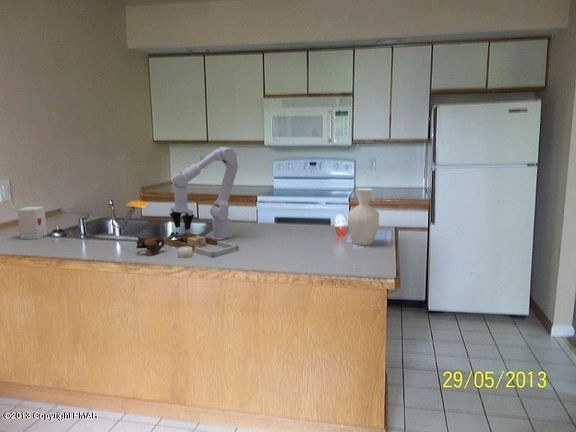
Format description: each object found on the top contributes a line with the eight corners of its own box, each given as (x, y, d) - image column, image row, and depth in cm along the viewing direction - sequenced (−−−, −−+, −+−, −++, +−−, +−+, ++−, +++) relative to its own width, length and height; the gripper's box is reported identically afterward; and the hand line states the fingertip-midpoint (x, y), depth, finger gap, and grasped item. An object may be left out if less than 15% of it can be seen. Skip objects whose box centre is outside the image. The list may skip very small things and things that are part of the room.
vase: (342, 244, 207) (343, 190, 202) (353, 237, 219) (354, 186, 214) (373, 248, 201) (374, 192, 195) (382, 241, 213) (384, 188, 208)
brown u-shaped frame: (187, 237, 224) (186, 232, 224) (217, 244, 210) (217, 239, 209) (162, 243, 214) (161, 238, 213) (192, 251, 199) (191, 246, 199)
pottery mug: (140, 258, 191) (133, 241, 193) (142, 262, 200) (135, 245, 202) (168, 248, 195) (161, 231, 197) (168, 252, 204) (161, 235, 205)
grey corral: (220, 245, 209) (220, 241, 208) (238, 249, 201) (238, 245, 201) (195, 252, 198) (194, 247, 198) (213, 257, 190) (213, 252, 190)
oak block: (197, 244, 212) (196, 235, 212) (205, 246, 209) (205, 237, 208) (187, 246, 208) (187, 238, 208) (196, 248, 205) (195, 240, 204)
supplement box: (38, 239, 224) (34, 209, 221) (20, 239, 224) (16, 209, 221) (48, 234, 233) (44, 206, 230) (30, 234, 233) (27, 206, 230)
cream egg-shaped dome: (186, 253, 197) (186, 245, 197) (195, 255, 193) (195, 247, 193) (175, 256, 193) (174, 248, 192) (184, 259, 189) (183, 250, 188)
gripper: (164, 199, 212) (166, 227, 215) (183, 202, 203) (185, 232, 206) (177, 197, 217) (178, 225, 220) (196, 200, 208) (197, 229, 211)
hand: (182, 228), depth 213 cm, fingers open, 7 cm apart
